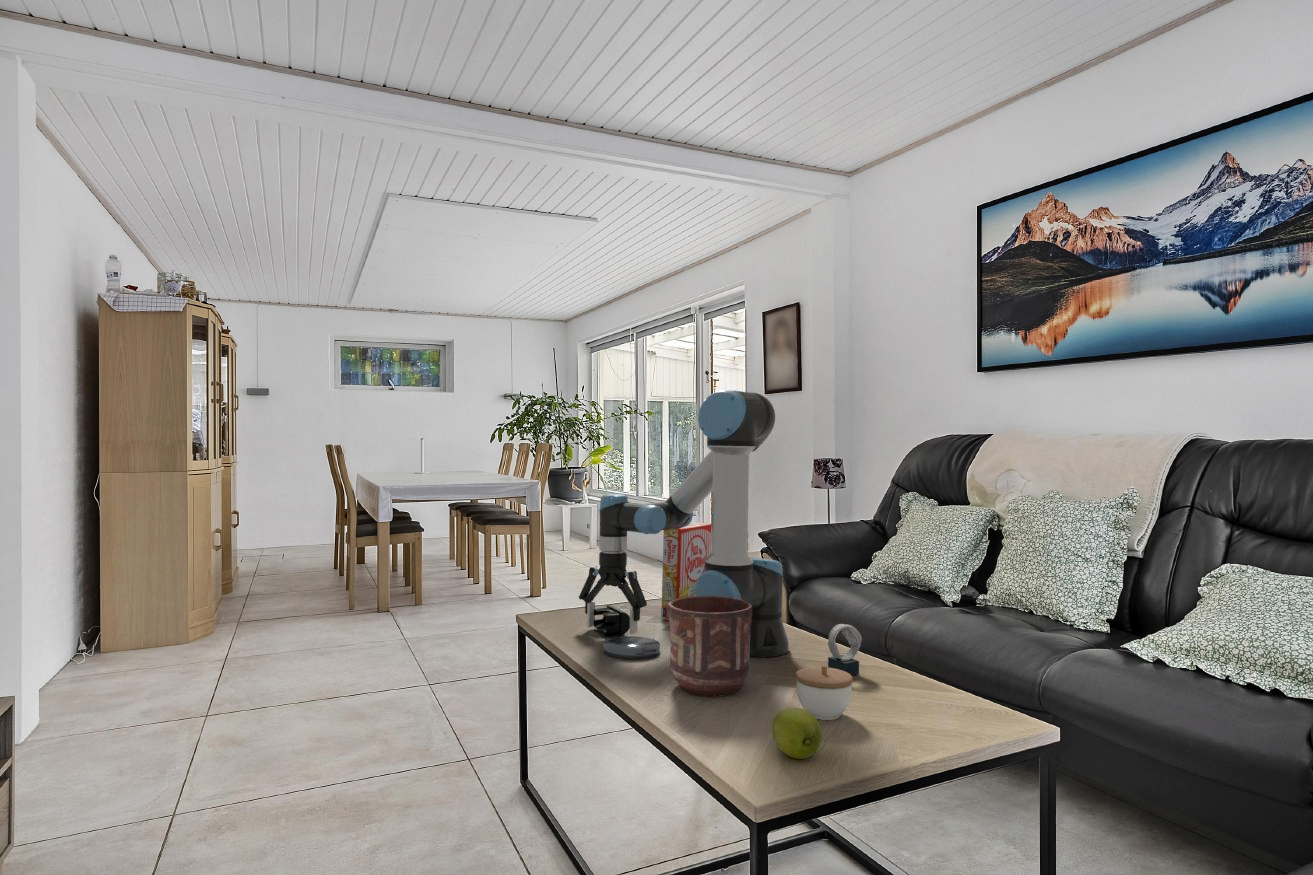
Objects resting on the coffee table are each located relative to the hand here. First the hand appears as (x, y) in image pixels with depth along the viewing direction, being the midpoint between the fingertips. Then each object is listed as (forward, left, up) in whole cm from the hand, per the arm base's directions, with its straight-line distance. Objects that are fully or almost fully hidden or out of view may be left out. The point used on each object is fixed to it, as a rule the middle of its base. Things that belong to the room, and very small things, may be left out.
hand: (611, 629), depth 210 cm
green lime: (-70, +53, -1) cm, 88 cm away
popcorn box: (-7, -31, -1) cm, 32 cm away
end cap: (0, 0, -1) cm, 1 cm away
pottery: (-42, +28, -1) cm, 50 cm away
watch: (-64, +2, -1) cm, 64 cm away
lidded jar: (-68, +31, -1) cm, 75 cm away
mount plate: (-14, +13, -1) cm, 19 cm away
